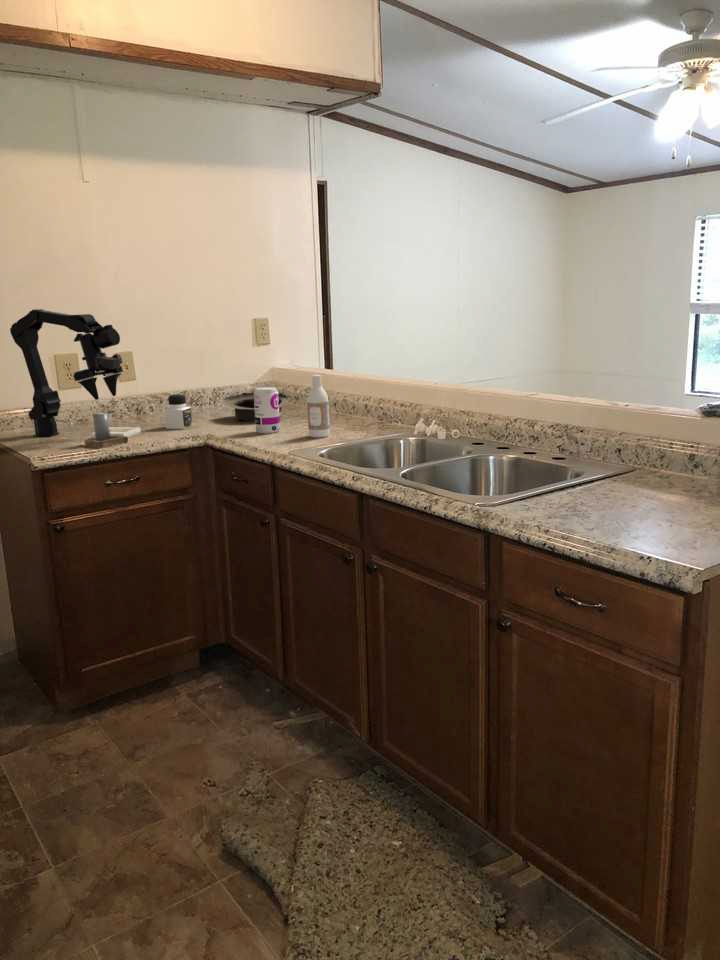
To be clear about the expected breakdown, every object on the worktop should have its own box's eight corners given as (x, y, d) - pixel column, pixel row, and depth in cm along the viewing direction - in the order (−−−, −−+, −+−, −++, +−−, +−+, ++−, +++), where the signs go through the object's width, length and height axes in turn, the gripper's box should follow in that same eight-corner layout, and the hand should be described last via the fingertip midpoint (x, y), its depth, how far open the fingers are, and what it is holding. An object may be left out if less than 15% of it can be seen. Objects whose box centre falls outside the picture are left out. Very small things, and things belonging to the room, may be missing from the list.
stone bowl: (255, 411, 315) (255, 388, 312) (303, 420, 301) (304, 397, 298) (210, 419, 295) (210, 395, 293) (259, 429, 281) (259, 404, 279)
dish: (91, 439, 264) (90, 433, 263) (109, 432, 275) (108, 427, 275) (124, 439, 261) (123, 433, 261) (140, 433, 273) (140, 427, 272)
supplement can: (284, 430, 270) (282, 387, 267) (272, 434, 263) (269, 390, 260) (264, 429, 274) (261, 386, 270) (251, 433, 266) (248, 389, 263)
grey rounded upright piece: (91, 445, 252) (87, 415, 250) (100, 442, 258) (97, 412, 255) (107, 445, 251) (103, 415, 249) (115, 442, 256) (112, 412, 254)
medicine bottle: (184, 429, 278) (181, 395, 275) (165, 429, 280) (163, 395, 277) (192, 426, 285) (189, 393, 282) (174, 426, 286) (171, 393, 284)
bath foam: (305, 437, 255) (302, 376, 251) (313, 433, 262) (310, 374, 257) (325, 438, 253) (323, 376, 249) (332, 434, 260) (330, 374, 255)
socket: (85, 446, 251) (84, 440, 251) (114, 440, 260) (113, 434, 259) (99, 448, 247) (98, 442, 246) (128, 442, 255) (127, 436, 255)
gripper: (93, 348, 248) (107, 396, 250) (128, 344, 265) (141, 389, 267) (66, 356, 252) (80, 403, 254) (102, 351, 269) (115, 396, 271)
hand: (106, 397), depth 262 cm, fingers open, 9 cm apart
